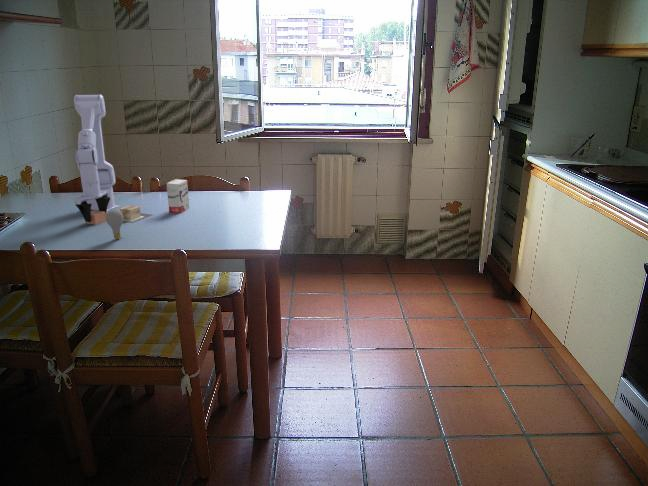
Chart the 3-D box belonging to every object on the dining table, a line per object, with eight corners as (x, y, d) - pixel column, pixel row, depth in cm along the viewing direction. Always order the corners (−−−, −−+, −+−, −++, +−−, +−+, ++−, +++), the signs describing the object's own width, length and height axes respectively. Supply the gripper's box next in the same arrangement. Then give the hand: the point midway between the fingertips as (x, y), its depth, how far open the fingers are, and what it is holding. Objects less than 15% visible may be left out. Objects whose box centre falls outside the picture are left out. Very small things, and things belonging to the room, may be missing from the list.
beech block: (120, 219, 200) (119, 208, 199) (130, 215, 205) (129, 205, 203) (131, 220, 198) (130, 209, 197) (140, 216, 203) (139, 206, 202)
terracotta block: (85, 224, 196) (84, 213, 194) (96, 220, 200) (94, 210, 199) (96, 225, 194) (94, 215, 192) (106, 222, 198) (105, 211, 197)
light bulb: (111, 236, 181) (107, 207, 178) (128, 236, 181) (124, 207, 178) (106, 242, 176) (102, 212, 173) (123, 241, 176) (120, 211, 173)
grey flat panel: (102, 219, 201) (102, 219, 200) (125, 211, 211) (125, 211, 211) (132, 223, 195) (132, 223, 195) (154, 215, 206) (154, 214, 206)
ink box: (180, 214, 207) (177, 184, 204) (168, 213, 208) (165, 183, 204) (190, 208, 215) (187, 179, 212) (178, 207, 216) (176, 178, 213)
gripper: (83, 187, 184) (88, 225, 188) (114, 179, 197) (118, 215, 201) (67, 185, 187) (73, 223, 191) (99, 177, 199) (104, 213, 204)
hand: (95, 219), depth 196 cm, fingers open, 7 cm apart
